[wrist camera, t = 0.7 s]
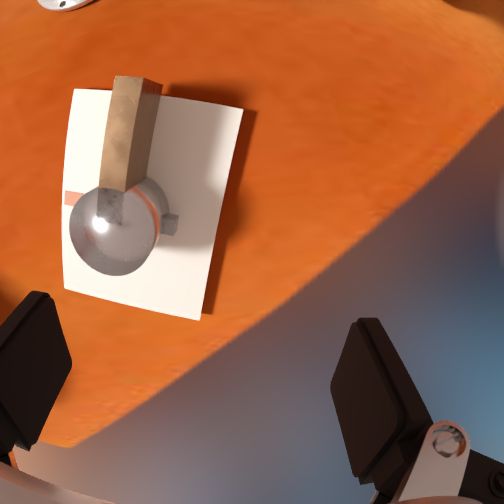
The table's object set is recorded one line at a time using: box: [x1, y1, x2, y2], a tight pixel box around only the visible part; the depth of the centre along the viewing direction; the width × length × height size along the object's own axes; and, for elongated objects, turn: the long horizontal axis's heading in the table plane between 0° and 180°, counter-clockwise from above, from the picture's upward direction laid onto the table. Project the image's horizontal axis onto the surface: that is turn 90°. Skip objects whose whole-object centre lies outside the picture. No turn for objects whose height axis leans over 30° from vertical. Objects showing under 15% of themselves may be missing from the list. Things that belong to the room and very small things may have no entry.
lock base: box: [62, 89, 243, 321], centre depth 32 cm, size 24×18×2 cm
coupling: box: [69, 76, 179, 276], centre depth 26 cm, size 17×10×7 cm, turn 167°
